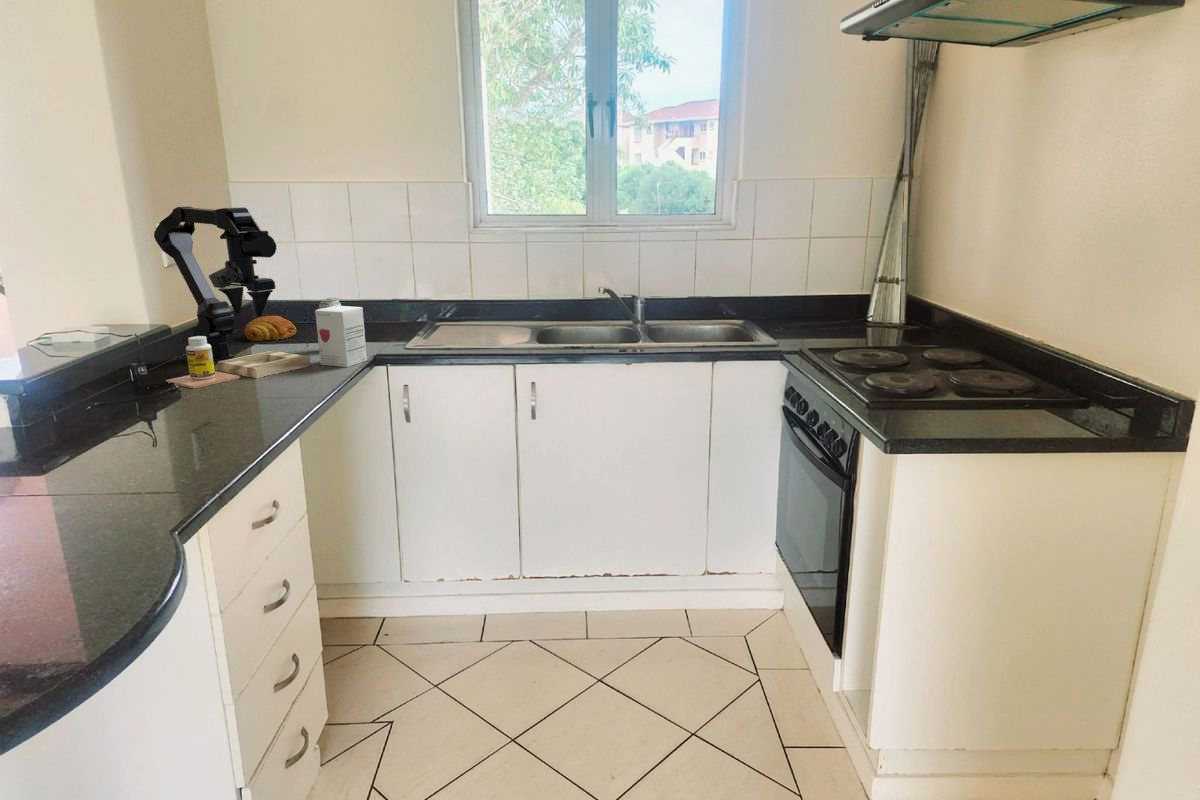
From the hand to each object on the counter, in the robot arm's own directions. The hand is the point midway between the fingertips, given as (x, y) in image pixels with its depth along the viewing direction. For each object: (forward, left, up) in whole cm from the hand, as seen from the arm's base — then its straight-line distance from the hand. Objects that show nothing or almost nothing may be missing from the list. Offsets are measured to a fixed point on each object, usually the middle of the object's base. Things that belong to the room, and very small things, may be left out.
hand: (248, 315), depth 206 cm
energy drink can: (+6, +22, -13) cm, 26 cm away
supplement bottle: (+7, -19, -13) cm, 24 cm away
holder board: (+9, -3, -13) cm, 16 cm away
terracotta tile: (+7, -19, -13) cm, 24 cm away
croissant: (-28, +26, -13) cm, 41 cm away
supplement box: (+22, +12, -13) cm, 28 cm away
